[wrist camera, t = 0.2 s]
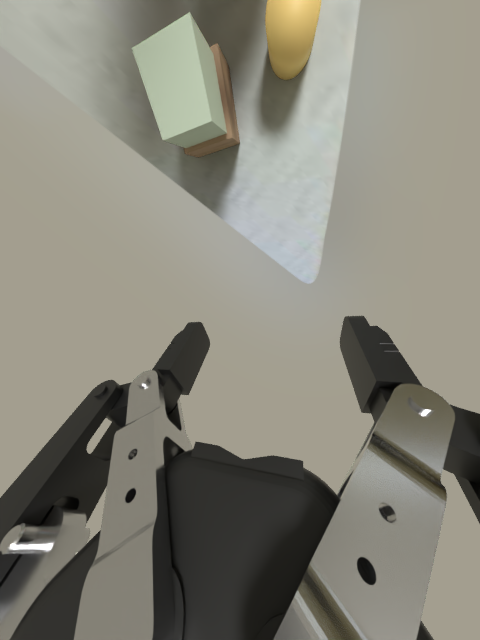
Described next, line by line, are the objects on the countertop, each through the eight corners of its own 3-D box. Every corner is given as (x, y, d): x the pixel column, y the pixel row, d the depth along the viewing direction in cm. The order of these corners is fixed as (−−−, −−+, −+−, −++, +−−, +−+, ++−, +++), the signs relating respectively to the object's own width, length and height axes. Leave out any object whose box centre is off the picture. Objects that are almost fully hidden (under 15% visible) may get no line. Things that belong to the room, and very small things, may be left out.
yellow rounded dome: (266, 16, 19) (262, -25, 15) (315, -10, 18) (323, -62, 14) (271, 87, 22) (268, 67, 18) (313, 69, 21) (319, 44, 17)
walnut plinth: (181, 89, 24) (161, 72, 20) (229, 67, 22) (217, 43, 18) (198, 157, 28) (185, 154, 24) (240, 143, 26) (232, 137, 22)
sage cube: (166, 78, 20) (131, 48, 16) (213, 53, 18) (189, 12, 14) (186, 148, 24) (162, 140, 19) (227, 133, 22) (211, 120, 17)
